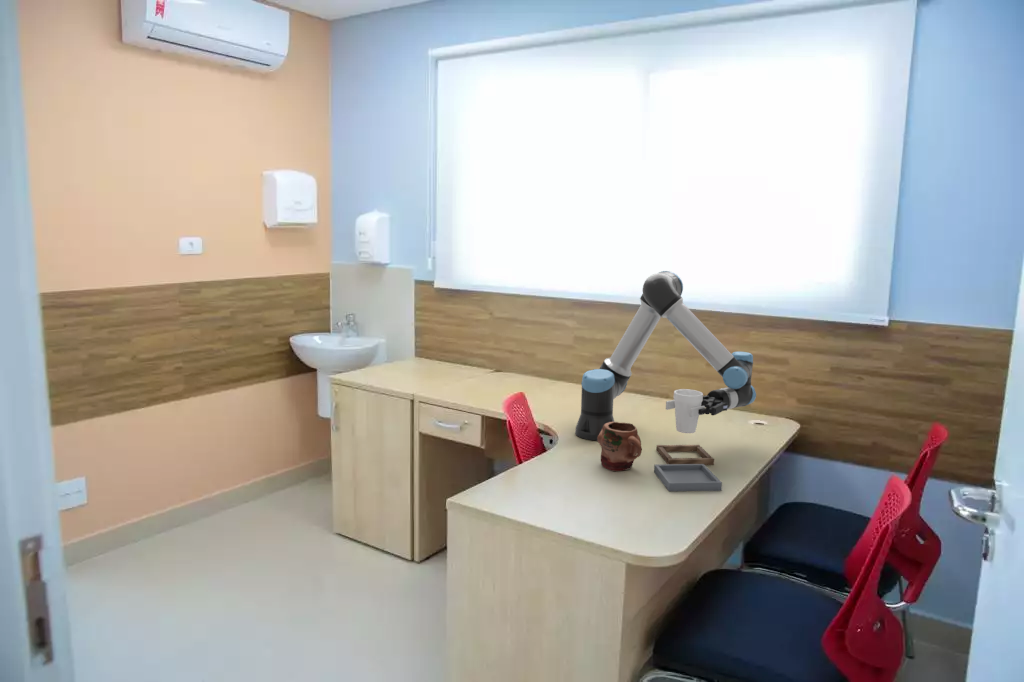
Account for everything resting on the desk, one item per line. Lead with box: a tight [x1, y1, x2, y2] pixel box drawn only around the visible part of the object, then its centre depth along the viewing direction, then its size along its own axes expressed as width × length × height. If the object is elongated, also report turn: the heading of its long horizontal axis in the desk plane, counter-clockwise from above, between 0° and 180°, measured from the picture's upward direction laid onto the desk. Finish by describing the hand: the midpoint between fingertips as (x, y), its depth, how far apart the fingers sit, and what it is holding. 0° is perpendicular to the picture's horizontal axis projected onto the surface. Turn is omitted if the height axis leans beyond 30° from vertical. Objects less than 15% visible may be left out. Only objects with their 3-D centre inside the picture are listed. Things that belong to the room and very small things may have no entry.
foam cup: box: [673, 388, 704, 434], centre depth 241 cm, size 10×9×13 cm
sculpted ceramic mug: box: [596, 421, 643, 472], centre depth 231 cm, size 20×12×14 cm, turn 34°
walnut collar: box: [655, 444, 715, 466], centre depth 243 cm, size 15×15×2 cm
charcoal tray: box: [653, 463, 723, 492], centre depth 222 cm, size 16×16×2 cm
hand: (678, 409), depth 238 cm, fingers closed on foam cup, 9 cm apart
